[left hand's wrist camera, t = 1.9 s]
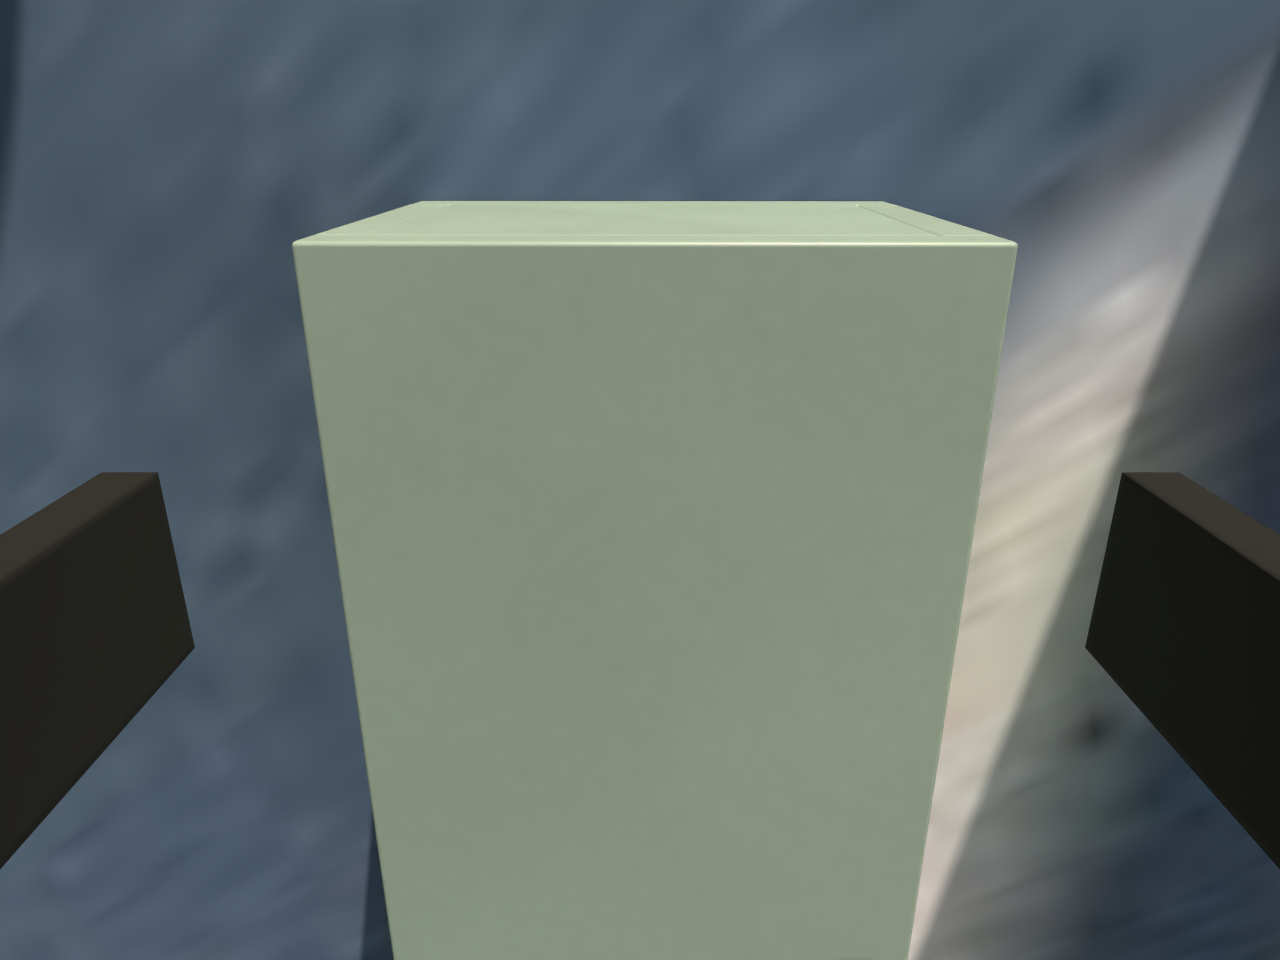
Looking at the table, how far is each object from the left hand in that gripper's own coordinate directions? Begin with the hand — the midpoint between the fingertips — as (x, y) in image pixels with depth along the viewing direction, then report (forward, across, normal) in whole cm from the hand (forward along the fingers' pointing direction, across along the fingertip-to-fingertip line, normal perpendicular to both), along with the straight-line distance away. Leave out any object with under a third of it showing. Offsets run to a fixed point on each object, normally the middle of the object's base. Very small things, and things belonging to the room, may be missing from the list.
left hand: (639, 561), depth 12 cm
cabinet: (+11, 0, -6) cm, 13 cm away
